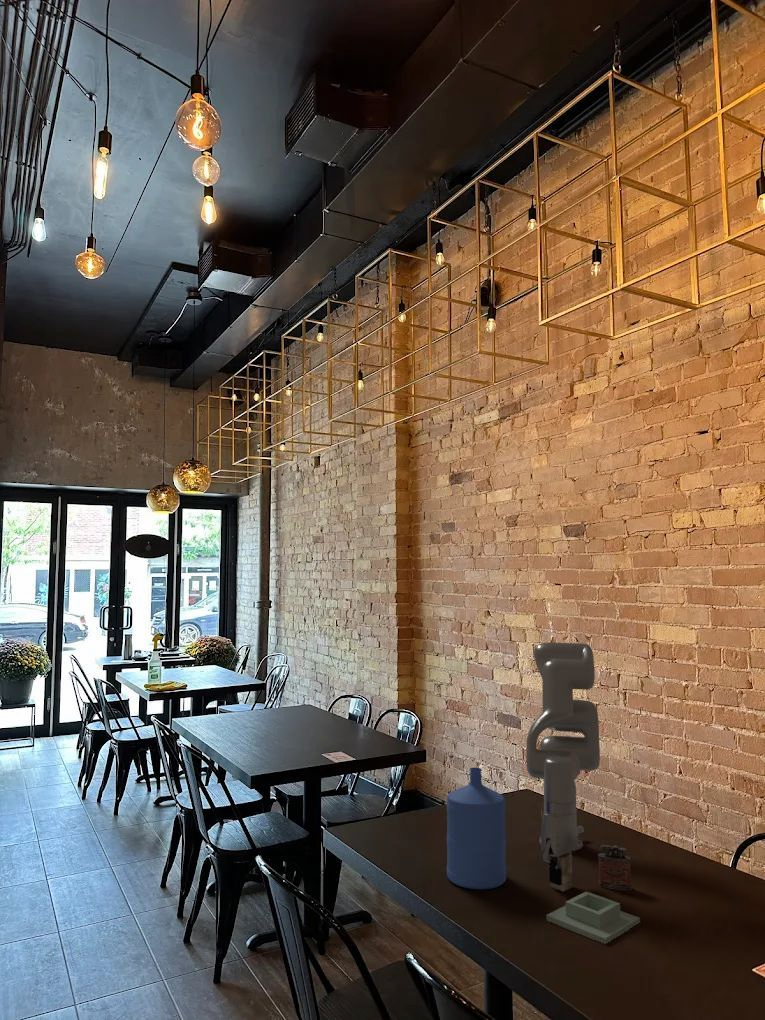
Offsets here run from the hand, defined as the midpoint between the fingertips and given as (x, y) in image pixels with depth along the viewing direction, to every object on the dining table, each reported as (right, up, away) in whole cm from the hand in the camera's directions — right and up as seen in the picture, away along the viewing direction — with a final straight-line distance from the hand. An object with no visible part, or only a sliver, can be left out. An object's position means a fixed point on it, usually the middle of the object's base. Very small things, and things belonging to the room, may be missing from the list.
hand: (560, 880), depth 183 cm
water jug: (-21, -2, +5) cm, 22 cm away
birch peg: (0, -2, 0) cm, 2 cm away
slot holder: (+3, +1, -19) cm, 19 cm away
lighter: (+14, -2, +1) cm, 14 cm away
